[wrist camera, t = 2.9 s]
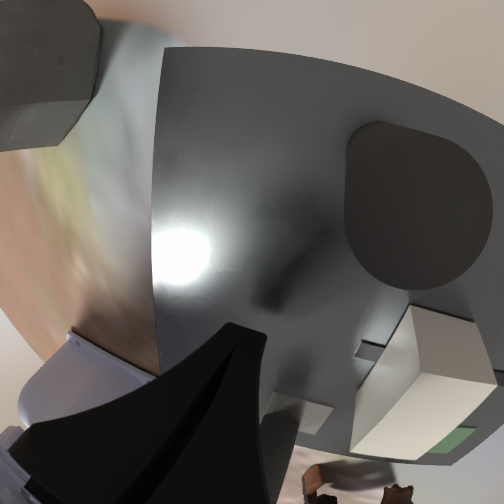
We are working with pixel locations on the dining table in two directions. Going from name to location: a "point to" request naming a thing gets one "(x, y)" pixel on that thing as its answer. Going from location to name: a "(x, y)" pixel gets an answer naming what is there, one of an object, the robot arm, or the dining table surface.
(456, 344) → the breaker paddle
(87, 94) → the coffeepot
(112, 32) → the dining table surface
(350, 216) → the black cylinder
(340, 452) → the panel
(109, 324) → the dining table surface
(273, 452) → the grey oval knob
